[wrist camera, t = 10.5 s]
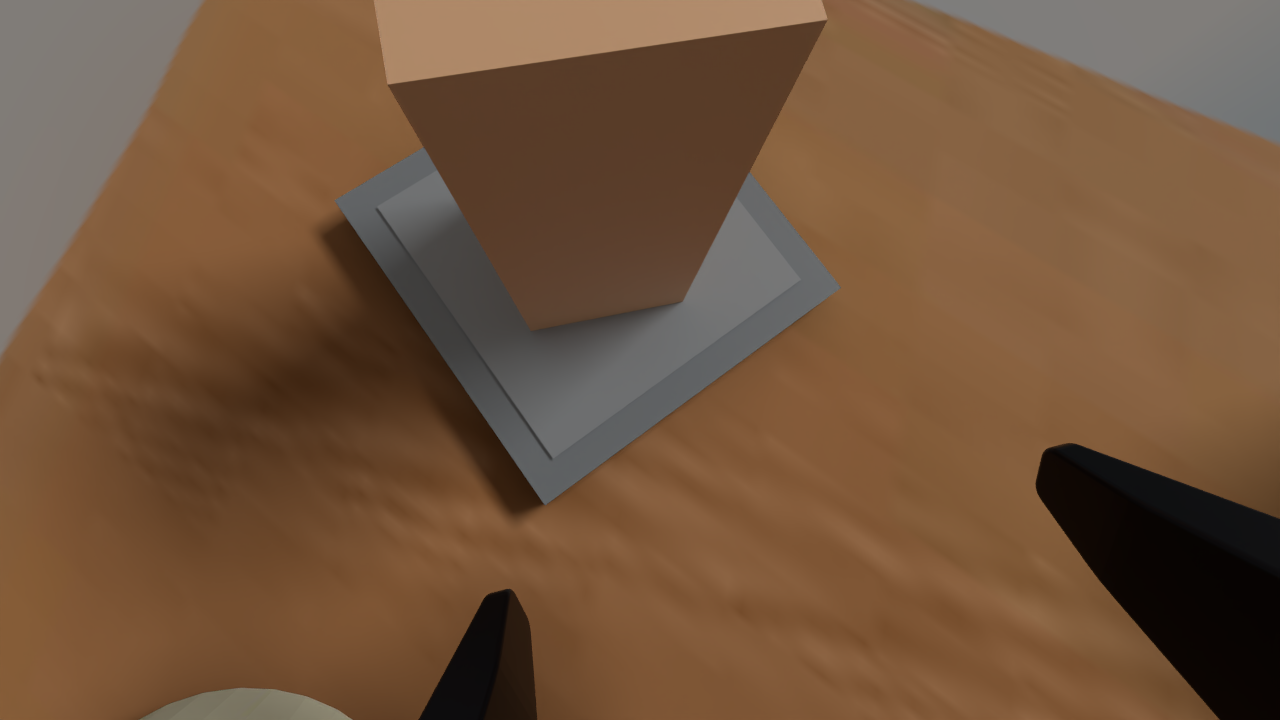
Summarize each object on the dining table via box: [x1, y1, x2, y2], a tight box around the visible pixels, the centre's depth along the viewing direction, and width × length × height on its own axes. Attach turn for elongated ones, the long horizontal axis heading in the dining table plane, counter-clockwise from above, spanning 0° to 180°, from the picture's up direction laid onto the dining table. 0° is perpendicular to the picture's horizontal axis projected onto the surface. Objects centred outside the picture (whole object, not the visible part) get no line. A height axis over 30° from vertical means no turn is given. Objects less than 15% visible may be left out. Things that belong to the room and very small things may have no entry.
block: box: [374, 0, 827, 331], centre depth 12 cm, size 5×5×12 cm
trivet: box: [335, 148, 841, 505], centre depth 19 cm, size 12×12×1 cm
